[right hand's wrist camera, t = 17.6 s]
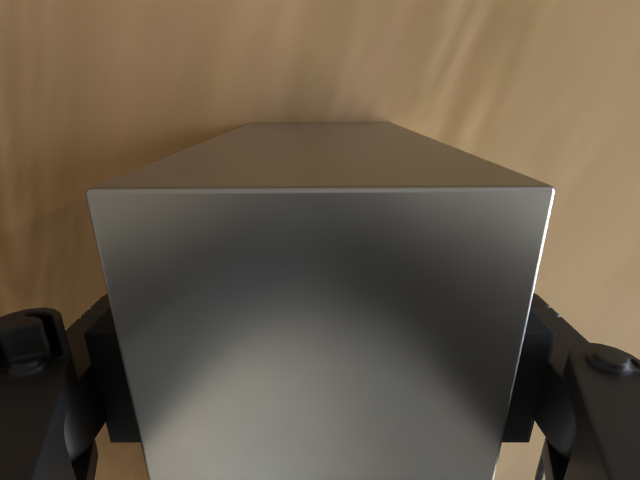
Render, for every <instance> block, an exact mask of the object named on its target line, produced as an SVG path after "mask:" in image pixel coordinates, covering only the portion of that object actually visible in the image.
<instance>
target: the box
mask: <svg viewBox="0 0 640 480" xmlns="http://www.w3.org/2000/svg"><path fill="white" fill-rule="evenodd" d="M554 193H555V189H554V187H553V186H551V185H548V184H546V183H543V182H541V181H538V180H535V179H533V178H530V177H528V176H525V175H523V174H520V173H518V172H515V171H513V170H510V169H507V168H505V167H502V166H500V165H497V164H495V163H492V162H490V161H487V160H485V159H482V158H479V157H477V156H474V155H472V154H469V153H467V152H464V151H462V150H459V149H457V148H454V147H451V146H449V145H446V144H444V143H441V142H439V141H436V140H434V139H431V138H429V137H426V136H424V135H421V134H418V133H416V132H413V131H411V130H408V129H406V128H403V127H401V126H398V125H396V124H393V123H390V122H333V123H249V124H247V125H244V126H242V127H239V128H237V129H234V130H232V131H229V132H227V133H224V134H222V135H219V136H217V137H214V138H212V139H209V140H207V141H204V142H202V143H199V144H197V145H194V146H192V147H189V148H187V149H184V150H182V151H179V152H177V153H174V154H172V155H170V156H167V157H165V158H162V159H160V160H157V161H155V162H152V163H150V164H147V165H145V166H142V167H140V168H137V169H135V170H132V171H130V172H127V173H125V174H122V175H120V176H117V177H115V178H112V179H110V180H107V181H105V182H102V183H100V184H98V185H95V186H93V187H90V188H88V189H87V190H86V198H87V203H88V207H89V212H90V216H91V221H92V225H93V230H94V234H95V239H96V243H97V248H98V252H99V257H100V261H101V266H102V270H103V275H104V279H105V284H106V288H107V293H108V297H109V302H110V306H111V311H112V315H113V320H114V324H115V329H116V333H117V338H118V342H119V347H120V351H121V356H122V360H123V365H124V369H125V374H126V378H127V383H128V387H129V392H130V396H131V401H132V405H133V410H134V414H135V419H136V423H137V428H138V432H139V437H140V441H141V445H142V450H143V454H144V459H145V463H146V468H147V472H148V477H149V480H494V476H495V471H496V466H497V462H498V457H499V452H500V448H501V443H502V438H503V433H504V429H505V424H506V419H507V415H508V410H509V405H510V401H511V396H512V391H513V386H514V382H515V377H516V372H517V368H518V363H519V358H520V353H521V349H522V344H523V339H524V335H525V330H526V325H527V321H528V316H529V311H530V306H531V302H532V297H533V292H534V288H535V283H536V278H537V273H538V269H539V264H540V259H541V255H542V250H543V245H544V241H545V236H546V231H547V226H548V222H549V217H550V212H551V208H552V203H553V198H554Z"/></svg>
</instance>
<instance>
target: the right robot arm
mask: <svg viewBox="0 0 640 480" xmlns="http://www.w3.org/2000/svg"><path fill="white" fill-rule="evenodd" d="M534 421H536V423H537V424H538V426H539V427H540V429H541V430H542V432H543V434H544V435H545V437H546V438H545V442H544V445H543V449H542V453H541V456H540V460H539V464H538V468H537V471H536V476H535V480H542V478H543V475H544V474H545V478H546V480H640V360H639V359H637V358H635V357H634V356H632V355H631V354H628V353H626V352H624V351H622V350H619V349H617V348H614V347H610V346H606V345H603V344H597V343H589V342H588V341H587V340H586V339H585V338H584V337H583V336H581V335H580V334H579V333H578V332H577V331H576V330H575V329H574V328H573V327H572V326H571V325H570V324H568V323H567V322H566V321H565V320H564V319H563V318H562V317H559V314H558V313H557V312H555V311H554V310H553V309H552V308H549V305H548V304H547V303H546V302H545V301H544V300H542V299H541V298H540V297H539V296H538V295H537V294H535V293H533V297H532V302H531V306H530V311H529V316H528V321H527V325H526V330H525V335H524V339H523V344H522V349H521V353H520V358H519V363H518V368H517V372H516V377H515V382H514V386H513V391H512V396H511V401H510V405H509V410H508V415H507V419H506V424H505V429H504V433H503V438H502V442H529V440H530V436H531V432H532V429H533V425H534ZM105 422H106V425H107V429H108V433H109V436H110V440H111V442H141V441H140V437H139V432H138V428H137V423H136V419H135V414H134V410H133V405H132V401H131V396H130V392H129V387H128V383H127V378H126V374H125V369H124V365H123V360H122V356H121V351H120V347H119V342H118V338H117V333H116V329H115V324H114V320H113V315H112V311H111V306H110V302H109V297H108V294H106V295H105V296H103V297H102V298H100V299H99V300H98V301H97V302H96V303H95V304H94V305H93V306H92V307H91V309H89V310H88V311H86V312H85V313H84V314H83V315H82V316H81V319H78V320H77V321H76V322H75V323H74V324H72V325H71V326H70V327H69V328H68V329H67V330H66V331H65V328H64V324H63V320H62V317H61V313H60V312H58V311H56V310H55V309H49V308H35V309H27V310H22V311H18V312H14V313H11V314H8V315H5V316H2V317H0V480H94V479H95V473H96V466H97V460H98V451H97V445H96V442H95V437H96V436H97V434H98V433H99V431H100V430H101V428H102V427H103V425H104V423H105Z"/></svg>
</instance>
